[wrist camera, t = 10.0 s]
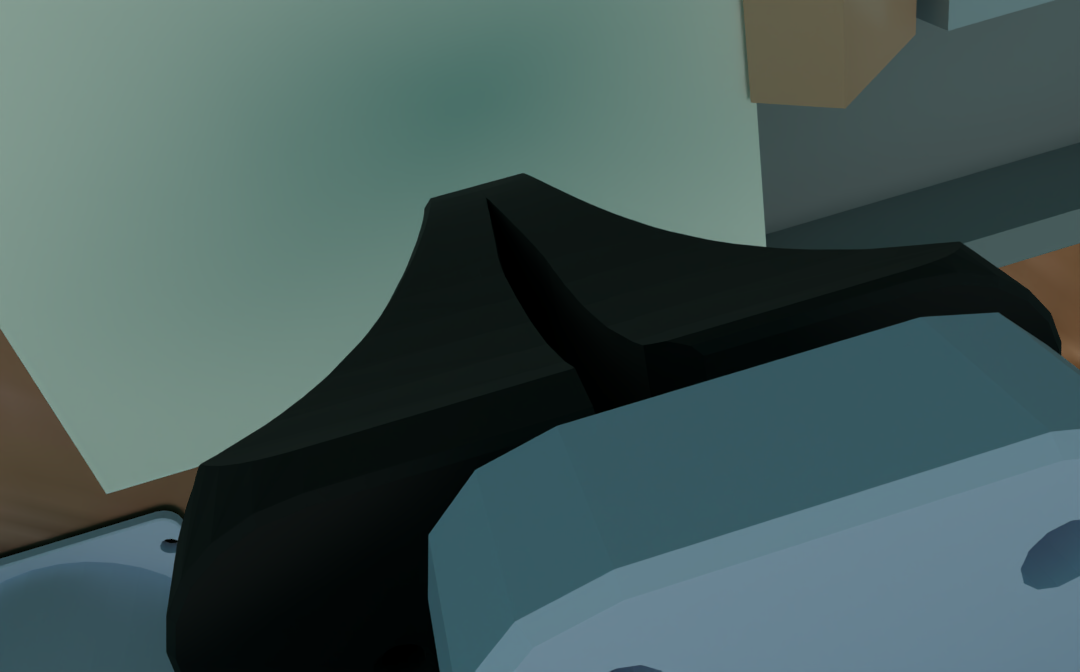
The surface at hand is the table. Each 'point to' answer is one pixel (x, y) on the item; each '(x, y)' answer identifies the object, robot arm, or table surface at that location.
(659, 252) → the robot arm
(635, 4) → the large sage green panel
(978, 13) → the tile
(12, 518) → the table surface
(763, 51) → the tile
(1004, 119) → the bin
